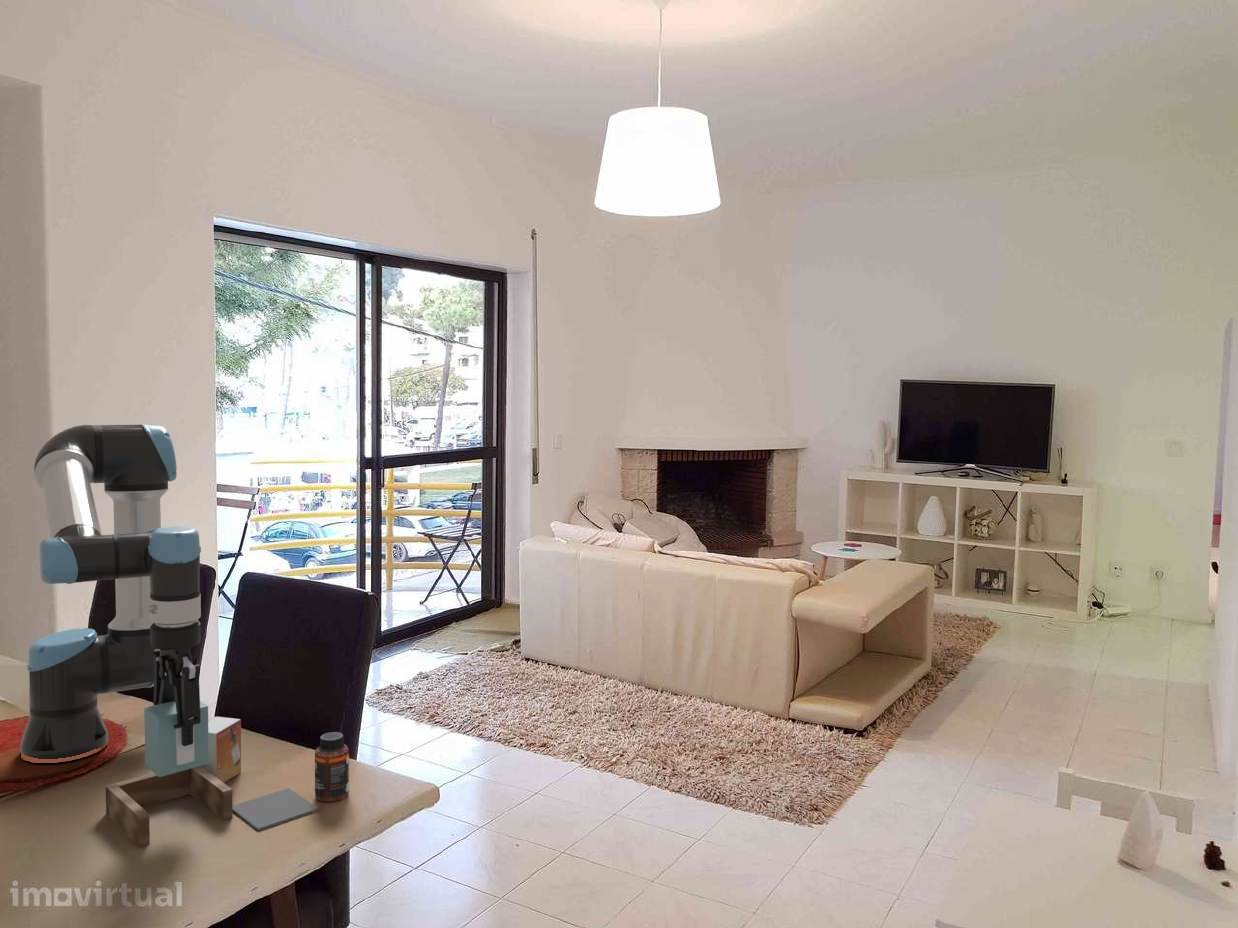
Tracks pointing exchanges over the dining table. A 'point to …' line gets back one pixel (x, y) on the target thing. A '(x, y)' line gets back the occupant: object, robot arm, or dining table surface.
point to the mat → (273, 809)
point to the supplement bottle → (331, 768)
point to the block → (172, 739)
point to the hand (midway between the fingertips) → (177, 755)
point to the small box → (224, 748)
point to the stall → (163, 798)
